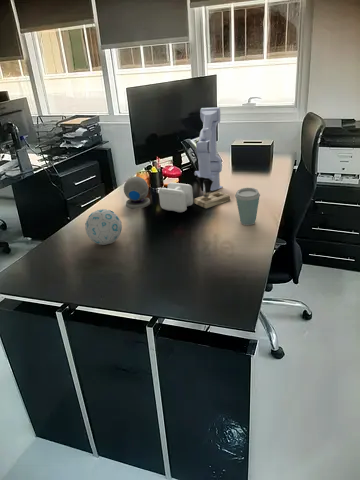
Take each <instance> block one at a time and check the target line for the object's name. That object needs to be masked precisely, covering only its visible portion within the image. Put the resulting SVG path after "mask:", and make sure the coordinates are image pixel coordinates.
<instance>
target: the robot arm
mask: <svg viewBox="0 0 360 480" xmlns="http://www.w3.org/2000/svg"><path fill="white" fill-rule="evenodd" d="M199 113H200V114H199V116H200V120H201V122H202V125H203V126H202V129H201V130H200V132H199V136H198V137H199V139H198V141H197V142H196V144H195V147H196V155H197V157H198V158H197V159H198V160H197V161H198V170H195V171H194V176H197V177H196V180H197V182H198V184H199V187H200V190H201V192H203V182H204V185H205V191H206V193H208V192H209V193H211V191H212V192H215V191H216V190H217V191H218V190H220V189H223V188H224V186H222V185H221V183H220V182H221V181H220V173H221V172H222V171H223V170H222V169H223V163H222V161H223V160H222V158H221V156H219V155H217V126H218V124H220V123H221V108H220V107H219V106H217V107H201V108H200V110H199Z"/></svg>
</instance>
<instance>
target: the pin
mask: <svg viewBox="0 0 360 480" xmlns="http://www.w3.org/2000/svg"><path fill="white" fill-rule="evenodd" d="M209 194H210V192H208V193H206V191H205V185H204V182H203V191H202V196H203V197H209Z"/></svg>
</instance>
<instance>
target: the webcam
mask: <svg viewBox="0 0 360 480" xmlns="http://www.w3.org/2000/svg"><path fill="white" fill-rule="evenodd" d="M123 192H124V195H125V197H126V198H127V200H126V202H125V206H126V208H128V209H143V208H145V207H148V206H149V205H150V204H151V199H150V198H149V197H147V196H148V193H149V184H148V183H147V181H146V180H145V178H142V177H140V176H132V177H129V178H128V179H127V180H126V181H125V183H124V184H123Z"/></svg>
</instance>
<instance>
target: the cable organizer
mask: <svg viewBox="0 0 360 480" xmlns="http://www.w3.org/2000/svg"><path fill="white" fill-rule="evenodd" d="M193 191H194V190H193V186H192V185H191V184H188V183H187V184H186V183H181V182H180V183H179V182H172V181H171V182H169V183H168V184H167V188H166V187H161V188H159V189H158V197H159V205H160V208H161V209H163V210H165V211H172V212H177V213H183V212H185V211H187V210H188V208H187V207H189V206H192V205H193V204H194V192H193Z"/></svg>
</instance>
